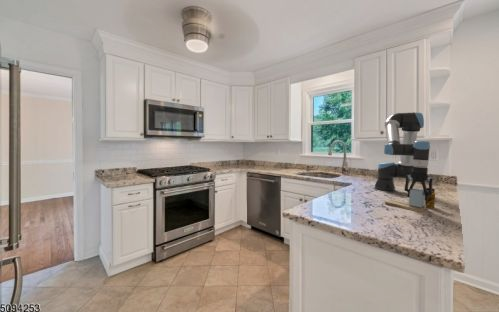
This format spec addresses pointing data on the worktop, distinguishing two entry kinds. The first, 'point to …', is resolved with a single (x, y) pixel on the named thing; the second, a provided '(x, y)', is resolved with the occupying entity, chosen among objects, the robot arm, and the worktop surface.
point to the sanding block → (416, 197)
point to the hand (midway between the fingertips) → (416, 204)
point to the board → (403, 205)
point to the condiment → (430, 200)
